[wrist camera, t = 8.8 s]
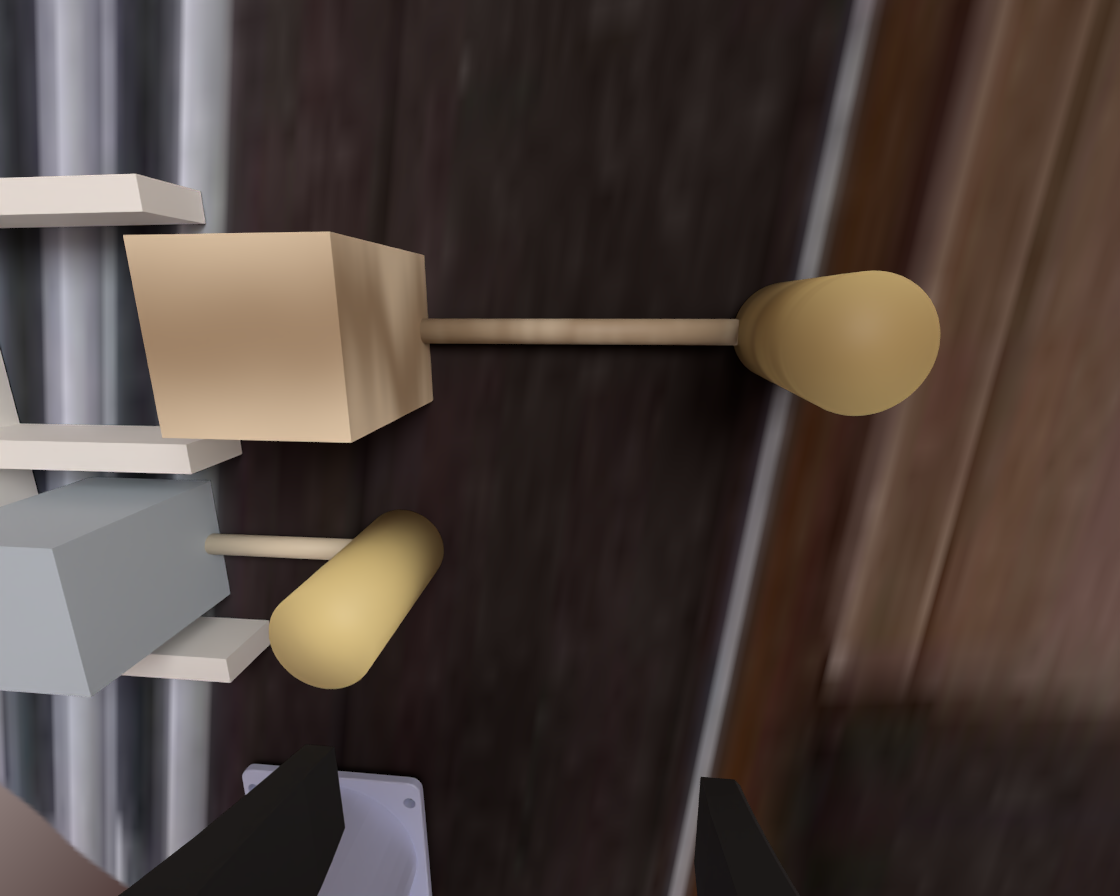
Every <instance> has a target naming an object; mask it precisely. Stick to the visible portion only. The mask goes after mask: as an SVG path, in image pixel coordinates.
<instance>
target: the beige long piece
mask: <svg viewBox="0 0 1120 896" xmlns="http://www.w3.org/2000/svg"><path fill="white" fill-rule="evenodd" d="M123 238H124V243H125V248H126V253H127V258H128V264H129V269H130V274H131V279H132V284H133V289H134V294H135V300H136V305H137V310H138V315H139V320H140V325H141V331H142V336H143V341H144V346H145V351H146V356H147V362H148V367H149V372H150V377H151V382H152V387H153V393H154V398H155V403H156V408H157V413H158V418H159V423H160V429H161V434H162V438H187V439H225V440H263V441H302V442H340V443H352V442H354V441H356V440H358V439H360V438H362V437H364V436H366V435H367V434H369V433H371V432H373V431H375V430H377V429H379V428H381V427H383V426H385V425H387V424H389V423H391V422H393V421H395V420H397V419H399V418H400V417H402V416H404V415H406V414H408V413H410V412H412V411H414V410H416V409H418V408H420V407H422V406H424V405H426V404H428V403H430V402H431V401H433V392H432V376H431V359H430V343H441V344H598V345H734V348H735V351H736V354H737V356H738V358H739V359H740V361H741V362H742V363H743V365H744V366H745V367H746V368H748V369H749V370H750V371H752V372H753V373H755V374H757V375H759V376H761V377H763V378H765V379H767V380H768V381H770V382H772V383H774V384H776V385H778V386H780V387H782V388H784V389H786V390H788V391H790V392H792V393H794V394H796V395H798V396H800V397H802V398H804V399H805V400H807V401H809V402H811V403H813V404H815V405H817V406H819V407H821V408H823V409H825V410H827V411H830V412H833V413H836V414H841V415H849V416H862V415H869V414H874V413H877V412H881V411H884V410H886V409H888V408H891V407H893V406H895V405H896V404H898V403H900V402H901V401H903V400H904V399H906V398H907V397H909V396H910V395H911V394H912V393H913V392H914V391H915V390H916V389H917V388H918V387H919V386H920V385H921V384H922V382H923V381H924V380H925V378H926V377H927V375H928V374H929V372H930V370H931V368H932V367H933V365H934V362H935V359H936V357H937V353H938V349H939V344H940V325H939V319H938V315H937V312H936V309H935V307H934V305H933V303H932V302H931V300H930V299H929V297H928V296H927V294H926V293H925V292H924V291H923V290H922V289H921V288H920V287H919V286H918V285H916V284H915V283H913V282H912V281H911V280H909V279H907V278H905V277H903V276H900V275H897V274H894V273H890V272H885V271H862V272H855V273H848V274H840V275H833V276H825V277H818V278H811V279H803V280H796V281H789V282H781V283H776V284H772V285H769V286H766V287H764V288H762V289H760V290H759V291H757V292H755V293H754V294H753V295H752V296H750V297H749V298H748V299H747V301H746V302H745V303H744V304H743V305H742V307H741V308H740V310H739V312H738V314H737V316H736V319H428V311H427V294H426V278H425V262H424V255H421V254H417V253H413V252H409V251H405V250H401V249H397V248H393V247H389V246H385V245H381V244H377V243H373V242H369V241H365V240H361V239H357V238H353V237H349V236H345V235H341V234H337V233H333V232H282V233H219V234H156V235H123Z"/></svg>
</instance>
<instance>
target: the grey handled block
mask: <svg viewBox="0 0 1120 896" xmlns="http://www.w3.org/2000/svg"><path fill="white" fill-rule="evenodd" d="M224 555H234V556H255V557H277V558H298V559H320V560H329V561H328V562H327V563H326V564H325V565H323V566H322V567H321V568H320V569H319V570H318V571H317V572H316V573H314V574H313V575H312V576H311V577H310V578H309V579H308V580H306V581H305V582H304V583H303V584H302V585H301V586H300V587H298V588H297V589H296V590H295V591H294V592H293V593H292V594H290V595H289V596H288V597H287V598H286V599H285V600H284V601H283V602H281V603H280V604H279V605H278V606H277V608H276V609H275V611H274V612H273V614H272V616H271V619H270V623H269V640H270V644H271V647H272V650H273V652H274V654H275V656H276V658H277V659H278V661H279V662H280V663H281V665H282V666H283V667H284V668H285V669H286V670H287V671H288V672H289V673H290V674H292V675H293V676H294V677H296V678H297V679H299V680H300V681H302V682H304V683H306V684H309V685H312V686H315V687H319V688H325V689H338V688H343V687H347V686H350V685H352V684H354V683H356V682H357V681H359V680H360V679H361V678H362V677H363V676H364V675H365V674H366V673H367V672H368V670H369V669H370V667H371V666H372V664H373V663H374V661H375V660H376V658H377V657H378V656H379V654H380V653H381V651H382V650H383V648H384V647H385V645H386V644H387V642H388V641H389V640H390V638H391V637H392V635H393V634H394V632H395V631H396V629H397V628H398V627H399V625H400V624H401V622H402V621H403V619H404V618H405V616H406V615H407V613H408V612H409V611H410V609H411V608H412V606H413V605H414V603H415V602H416V600H417V599H418V598H419V596H420V595H421V593H422V592H423V590H424V589H425V587H426V586H427V584H428V583H429V582H430V580H431V579H432V577H433V576H434V574H435V573H436V571H437V570H438V568H439V567H440V565H441V563H442V560H443V555H444V547H443V542H442V538H441V536H440V534H439V532H438V530H437V529H436V527H435V526H434V525H433V524H432V523H431V522H430V521H429V520H428V519H427V518H425V517H424V516H422V515H420V514H418V513H415V512H413V511H408V510H393V511H389V512H386V513H384V514H382V515H381V516H379V517H378V518H377V519H376V520H375V521H374V522H372V523H371V524H370V525H369V526H368V527H367V528H366V529H364V530H363V531H362V532H361V533H360V534H359V535H358V536H356V537H355V538H354V539H337V538H313V537H290V536H266V535H242V534H220V532H219V527H218V521H217V515H216V510H215V504H214V498H213V493H212V487H211V482H210V481H203V480H171V479H139V478H107V477H90V478H87V479H84V480H81V481H78V482H75V483H72V484H69V485H66V486H63V487H60V488H56V489H53V490H50V491H47V492H44V493H41V494H38V495H35V496H32V497H29V498H26V499H23V500H20V501H17V502H14V503H10V504H7V505H4V506H1V507H0V690H4V691H17V692H30V693H43V694H55V695H68V696H81V697H92V696H94V695H95V694H96V693H98V692H99V691H100V690H102V689H103V688H104V687H106V686H107V685H108V684H110V683H111V682H112V681H114V680H115V679H116V678H118V677H119V676H121V675H122V674H123V673H125V672H126V671H127V670H129V669H130V668H131V667H133V666H134V665H135V664H137V663H138V662H139V661H141V660H142V659H143V658H145V657H146V656H147V655H149V654H150V653H152V652H153V651H154V650H156V649H157V648H158V647H160V646H161V645H162V644H164V643H165V642H166V641H168V640H169V639H170V638H172V637H173V636H174V635H176V634H177V633H178V632H180V631H181V630H183V629H184V628H185V627H187V626H188V625H189V624H191V623H192V622H193V621H195V620H196V619H197V618H199V617H200V616H201V615H203V614H204V613H205V612H207V611H208V610H209V609H211V608H212V607H214V606H215V605H216V604H218V603H219V602H220V601H222V600H223V599H224V598H226V597H227V596H228V595H230V589H229V583H228V578H227V572H226V566H225V561H224Z"/></svg>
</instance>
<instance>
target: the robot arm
mask: <svg viewBox="0 0 1120 896" xmlns="http://www.w3.org/2000/svg"><path fill="white" fill-rule="evenodd" d="M242 779H243V785H244V790H245V796H244V797H243V798H241V799H240V800H239V801H238V802H237V803H235V804H234V805H233V806H232V807H231V808H229V809H228V810H227V811H226V812H225V813H223V814H222V815H221V816H220V817H218V818H217V819H216V820H215V821H214V822H212V823H211V824H210V825H209V826H208V827H206V828H205V829H204V830H203V831H202V832H200V833H199V834H198V835H197V836H195V837H194V838H193V839H192V840H190V841H189V842H188V843H186V844H185V845H184V846H183V847H181V848H180V849H179V850H177V851H176V852H175V853H174V854H172V855H171V856H170V857H168V858H167V859H166V860H165V861H163V862H162V863H161V864H159V865H158V866H157V867H155V868H154V869H153V870H152V871H150V872H149V873H148V874H146V875H145V876H144V877H143V878H141V879H140V880H139V881H137V882H136V883H135V884H134V885H132V886H131V887H130V888H128V889H127V890H125V891H124V892H123V893H121V894H120V895H119V896H432V888H431V876H430V865H429V853H428V841H427V830H426V818H425V806H424V795H423V786H422V784H421V783H420V781H419V780H417V779H416V778H412V777H403V776H392V775H380V774H369V773H357V772H346V771H338V770H337V762H336V755H335V747H331V746H318V745H305V746H303V747H302V748H301V749H300V750H298V751H297V752H296V753H295V754H294V755H292V756H291V757H290V758H289V759H288V760H286V761H285V762H284V763H283V764H282V765H280V766H277V765H265V764H251V765H249V766H248V767H247V769H246V770H245V771H244V773H243V774H242ZM409 798H410V799H409ZM411 799H412V800H411ZM694 864H695V874H696V885H697V895H698V896H800V895H799V894H798V892H797V890H796V889H795V887H794V885H793V884H792V882H791V881H790V879H789V877H788V876H787V874H786V872H785V870H784V869H783V867H782V865H781V863H780V862H779V860H778V858H777V856H776V855H775V853H774V851H773V849H772V847H771V846H770V844H769V842H768V840H767V838H766V837H765V835H764V833H763V831H762V829H761V827H760V825H759V823H758V822H757V820H756V818H755V816H754V814H753V812H752V810H751V808H750V806H749V804H748V802H747V800H746V798H745V796H744V794H743V791H742V789H741V787H740V785H739V784H738V783H737V782H736V781H735V780H732V779H720V778H708V777H701V780H700V794H699V807H698V820H697V833H696V846H695V860H694Z"/></svg>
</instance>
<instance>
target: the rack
mask: <svg viewBox="0 0 1120 896" xmlns="http://www.w3.org/2000/svg"><path fill="white" fill-rule="evenodd" d="M170 224H206V223H205V217H204V211H203V204H202V198H201V192H200V191H198V190H194V189H190V188H186V187H183V186H179V185H175V184H172V183H168V182H164V181H161V180H157V179H153V178H149V177H146V176H142V175H138V174H113V175H82V176H51V177H20V178H0V228H31V227H78V226H124V225H170ZM241 454H242V449H241V442H240V440H225V439H187V438H162V434H161V429H160V426H123V425H72V424H21V423H19V419H18V415H17V411H16V408H15V404H14V400H13V396H12V392H11V389H10V385H9V381H8V377H7V374H6V370H5V366H4V362H3V358H2V355H1V351H0V507H1V506H4V505H7V504H10V503H14V502H17V501H20V500H23V499H26V498H29V497H32V496H35V495H38V491H37V487H36V483H35V480H34V476H33V472H32V469H33V470H68V471H102V472H136V473H170V474H193V473H196V472H198V471H201V470H203V469H206V468H208V467H211V466H213V465H216V464H218V463H221V462H223V461H226V460H228V459H231V458H233V457H236V456H238V455H241ZM269 645H270V640H269V620H253V619H236V618H219V617H201V616H200V617H199V618H197V619H196V620H195V621H193V622H192V623H191V624H189V625H188V626H187V627H185V628H184V629H183V630H181V631H180V632H178V633H177V634H176V635H174V636H173V637H172V638H170V639H169V640H168V641H166V642H165V643H164V644H162V645H161V646H160V647H158V648H157V649H156V650H154V651H153V652H152V653H150V654H149V655H147V656H146V657H145V658H143V659H142V660H141V661H139V662H138V663H137V664H135V665H134V666H133V667H131V668H130V669H129V670H127V671H126V672H125V673H123V674H122V675H127V676H141V677H155V678H169V679H183V680H197V681H212V682H226V683H231V682H232V681H233V680H234V679H235V678H236V677H237V676H238V675H239V674H240V673H241V672H242V671H243V670H244V669H245V668H246V667H247V666H248V665H249V664H250V663H251V662H252V661H253V660H254V659H255V658H256V657H257V656H259V655H260V654H261V653H262V652H263V651H264V650H265V649H266V648H267V647H268V646H269Z"/></svg>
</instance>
